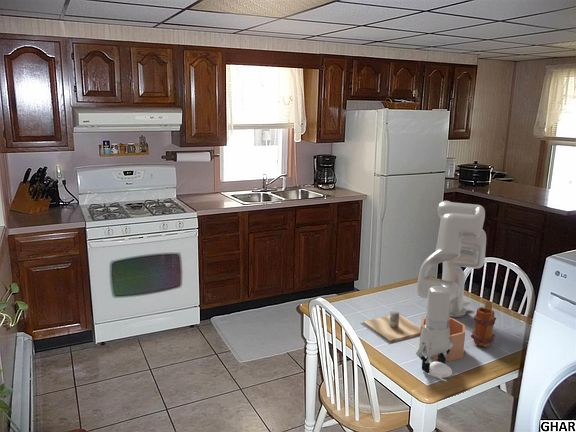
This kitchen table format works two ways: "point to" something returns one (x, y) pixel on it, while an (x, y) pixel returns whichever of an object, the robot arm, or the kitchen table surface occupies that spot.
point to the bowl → (453, 339)
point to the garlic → (440, 370)
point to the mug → (484, 325)
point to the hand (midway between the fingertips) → (433, 368)
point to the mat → (386, 340)
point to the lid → (393, 327)
